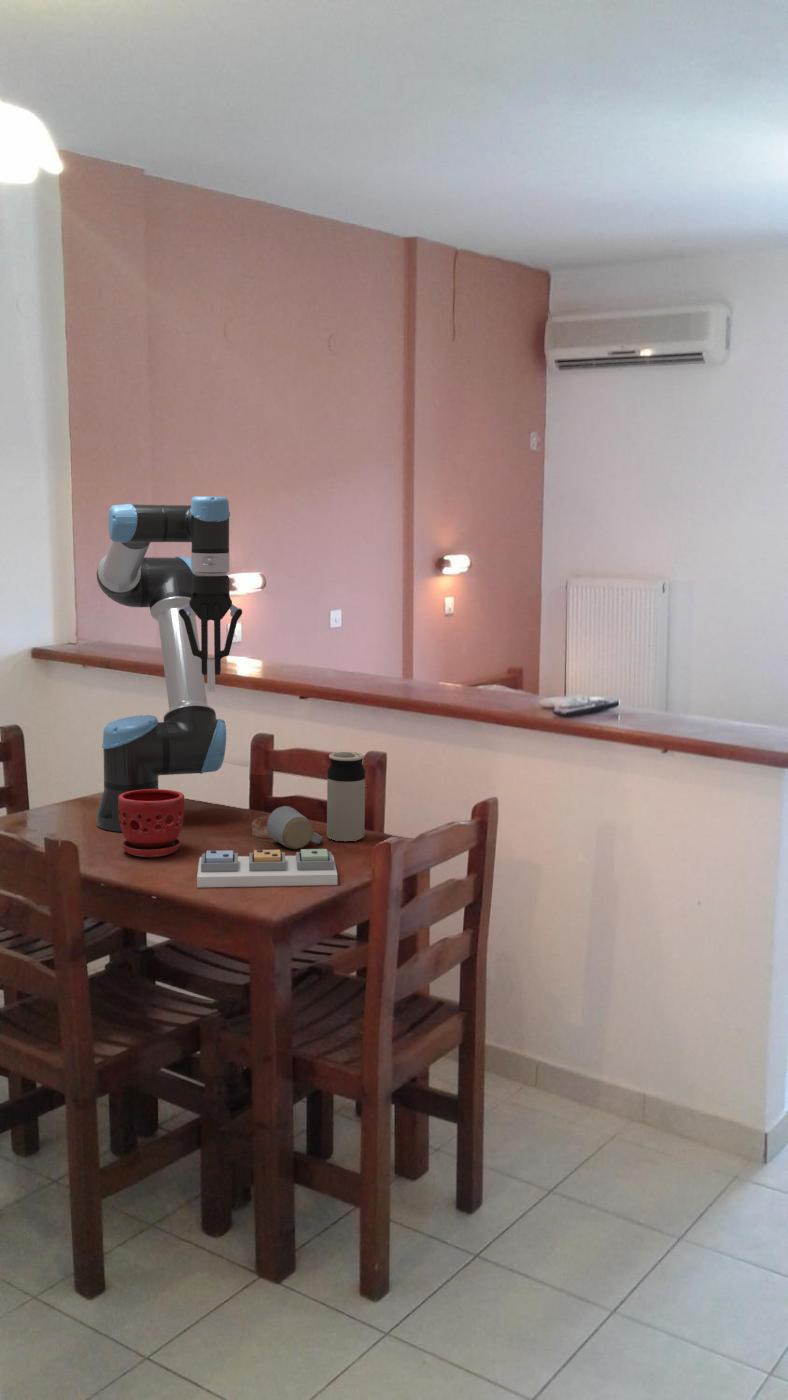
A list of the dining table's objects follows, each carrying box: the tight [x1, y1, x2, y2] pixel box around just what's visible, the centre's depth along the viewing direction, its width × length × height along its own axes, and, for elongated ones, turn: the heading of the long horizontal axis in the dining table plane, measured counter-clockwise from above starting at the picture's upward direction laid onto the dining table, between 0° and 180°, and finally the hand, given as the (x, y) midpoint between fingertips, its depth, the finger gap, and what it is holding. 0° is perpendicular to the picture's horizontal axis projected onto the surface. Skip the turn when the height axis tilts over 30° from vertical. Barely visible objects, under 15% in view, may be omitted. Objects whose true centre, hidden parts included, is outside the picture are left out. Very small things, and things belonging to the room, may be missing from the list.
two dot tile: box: [205, 849, 234, 863], centre depth 240 cm, size 5×5×2 cm
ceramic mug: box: [266, 805, 323, 850], centre depth 263 cm, size 11×8×8 cm
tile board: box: [196, 851, 338, 889], centre depth 242 cm, size 13×26×4 cm, turn 96°
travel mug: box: [326, 751, 366, 842], centre depth 268 cm, size 8×8×18 cm
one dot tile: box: [300, 848, 328, 861], centre depth 242 cm, size 5×5×2 cm
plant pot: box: [118, 788, 185, 859], centre depth 256 cm, size 13×13×12 cm
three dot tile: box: [253, 849, 281, 862], centre depth 241 cm, size 5×5×2 cm
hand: (211, 690), depth 257 cm, fingers closed
